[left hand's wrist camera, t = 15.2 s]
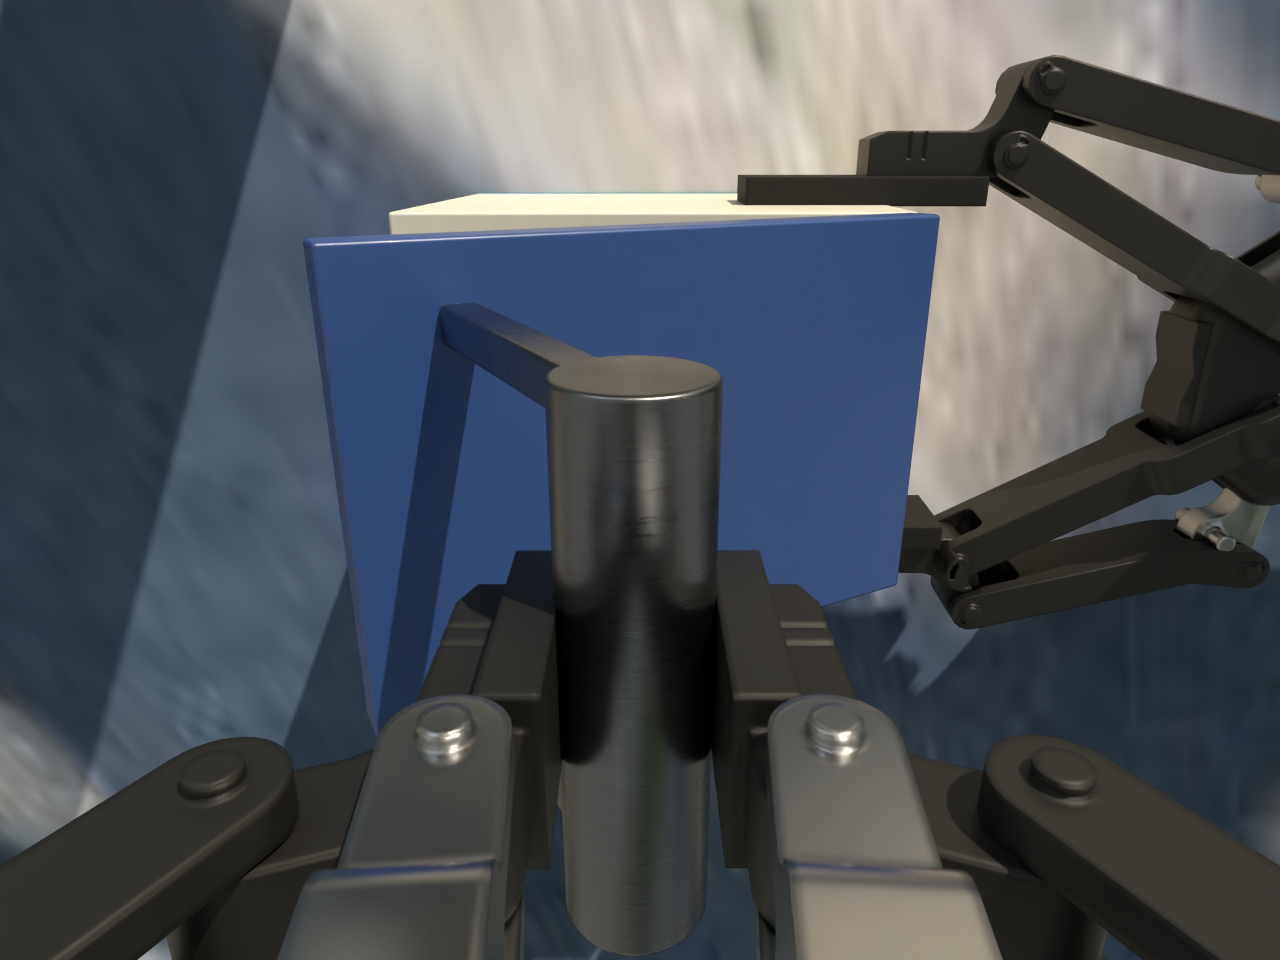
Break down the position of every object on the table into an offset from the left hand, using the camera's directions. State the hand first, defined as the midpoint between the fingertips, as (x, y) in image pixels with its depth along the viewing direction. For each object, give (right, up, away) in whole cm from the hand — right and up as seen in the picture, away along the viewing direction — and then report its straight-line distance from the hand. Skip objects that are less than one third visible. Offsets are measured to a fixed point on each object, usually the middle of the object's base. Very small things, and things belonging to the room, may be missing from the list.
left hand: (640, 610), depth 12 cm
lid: (0, +3, +7) cm, 7 cm away
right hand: (+3, +5, +14) cm, 15 cm away
